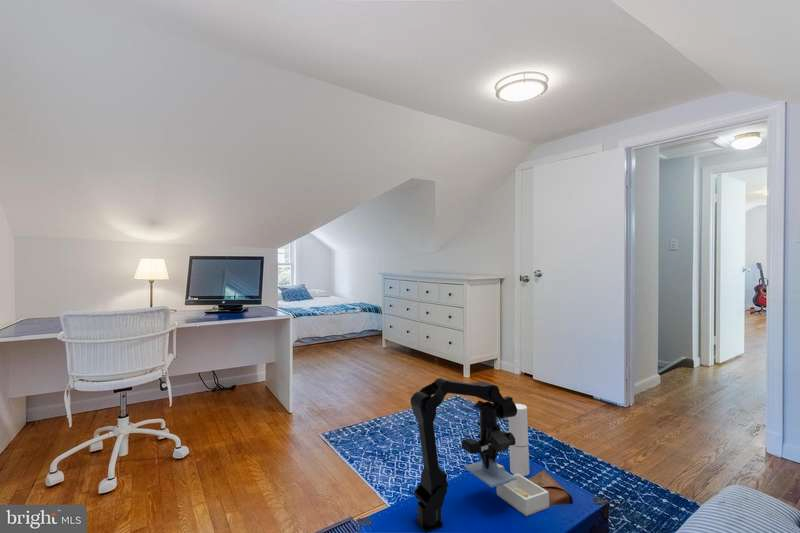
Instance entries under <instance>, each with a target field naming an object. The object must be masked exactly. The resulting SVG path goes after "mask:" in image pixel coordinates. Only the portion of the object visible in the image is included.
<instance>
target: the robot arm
mask: <svg viewBox="0 0 800 533" xmlns="http://www.w3.org/2000/svg"><path fill="white" fill-rule="evenodd" d="M448 394H452V395H453V394H454V395H463V396H469V397H475V398H478V399H481V400H478V401H477V402H476V403H475V404H474V408H475V409H477V410H479V421H478V422H477V426H478V427H479V434H477V438H478V440H476V439H474V438H472V437H470V438H464V439H463V440H462V441H461V449H463V450H464V451H465V452H467V453H468V454H471V455H475V454H479V456H480V458H481V461H483V463H484V465H485V468H486V469H488V468H489V458H491V459H492V460H494V461H495V462H496V459H497V456H498V455H499V453H501V452H503V451H506V452H507V451H509V450H510V447H509V446H511V445H515V437H514V436H513V434H512V433H511V432H509V431H508V432H507V431H501V426H500V424H498V419H499V420H503V419H509V417H514V416H516V414H517V408H516V405H515V404H516V403H515V402H514V400H513V399H514V398H513V397H512V396H505V397H503V395H502V394H501V393H500V388H499V385H495V384H492V383H490V382H487V381H482V380H481V381H475V382H464V381H457V380H451V379H444V378H441V377H439V378H437V379H435V380H434V381H433V382H432V383H430V384H427V385H425V386H424V387H422V388H421V389H420V390H418V391H417V392H414V393H413V395H412V397H411V398H410V406H411V409H412V413H413V415H414V417H415V419H416V421H417V424H418V431H419V438H420V439H419V440H420V448H421V455H422V457H421V458H422V465H423V468H422V471H421V475H420V483H419V485H417V487H416V489H415V490H414V491H413V495H414V497H415V499H416V500H417V501H418V502H417V517H416V518H415V523H416V524H417V525H418V526H419V527H420V528H421V530H422V531H424V533H425V532H426V533H428V532H429V531H432V530H436V529H438V528H441V527H444V523H443V522H442V508H443V505H444V502H445V497H446V495H447V493H448V488H449V484H448V475H447V472H445V471H444V470H443V469H442V468H440V465H439V458H438V450H437V441H436V434H435V426H434V422H435V419H436V416H437V408H438V407H439V406H440V405H441V404H442V403H443V401H444V399H445V397H446V396H447V395H448ZM482 400H484V401H482Z"/></svg>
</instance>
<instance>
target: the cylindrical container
mask: <svg viewBox="0 0 800 533" xmlns="http://www.w3.org/2000/svg"><path fill="white" fill-rule="evenodd" d="M515 405H516V408H517V414H516V416H514V417H509V418H508V433H509V432H511V433H512V434H513V436H514V437H515V445H511V446H509V468H510V469H509V470H510V473H512V475H515V474H520V475H522V476H523V477H525V476H528V475H529V474H530V456H529V453H530V452H529V429H528V428H529V426H528V425H529V424H528V406H527V405H525V404H523V403H515Z"/></svg>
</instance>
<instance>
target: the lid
mask: <svg viewBox="0 0 800 533" xmlns="http://www.w3.org/2000/svg"><path fill="white" fill-rule="evenodd" d="M497 462H498V461H496V460H495V461H494V460H492V459H491V458H489V468H488V469H486V468H485V465H484V463H483V461H482V460H481V461H479V462H473V463H469V464H466V465H464V466H463V467H464V468H465V470H467V471H468V472H470V474H472V475H474V476H475V477H477V478H478V479H479V480H480V481H482V482H483V483H485V484H486V485H488V486H489V487H490V488H495V487H497V486H499V485H502V484H506V483H510V481H513V480H516V477H515V476H513V475H514V474H511V472H508V471H507V470H505V469H504V470H503V469H502V468H500V467H499V466H497V464H498V463H497Z"/></svg>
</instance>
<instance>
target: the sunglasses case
mask: <svg viewBox="0 0 800 533" xmlns="http://www.w3.org/2000/svg"><path fill="white" fill-rule="evenodd" d="M527 479H528V480H530V481H531V482H533V483H535V484H536V485H538V486H540V487H541V488H543V489H545V490H546V491H548V492H549V507H550V506H551V507H553V506H560V505H561V506H562V505H570V504H571V505H573V502H574V500H573V497H572V495H571V494H570V493H569V492H568V491H567V490H566V489H565V488H564V487H562V485H560V484H559V482H558V481H556V480H555V479H554V478H553V477H552V476H551V475H550V474H548V473H547V471H546V470H544V469H542V470H541V471H539V472H538V473H536V474H535V475H533V476H531V477H530V478H527Z"/></svg>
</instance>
